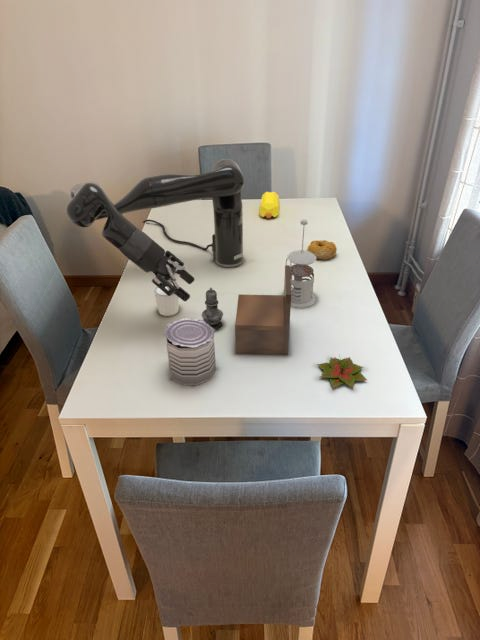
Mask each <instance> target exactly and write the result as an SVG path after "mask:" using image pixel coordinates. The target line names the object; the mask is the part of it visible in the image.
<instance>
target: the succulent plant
mask: <svg viewBox="0 0 480 640" xmlns="http://www.w3.org/2000/svg"><path fill="white" fill-rule="evenodd" d="M338 356H339V357H341V355H340V354H338ZM316 365H317V366H318V367H319V368H320V369H321V370H322V371H323V372H322V373H321V375H320V376H319V378H329V382H330V384H331V387H332V389H334V388H336V387H339V386H342V385H343V384H346V385H348V386H349V387H351V388H352V389H354V387H355V381H357V382H359V381H368V379H367V378H366V377H365V376H364V374H362V373H361V372H360V371H361V370H362V369H363V368H364V366H361V365H358V364H356V363H354V361H353V360H352V359H351V357H350V356H349V357H345V358H342V359H341V358H337V357H336V356H334V358H333V357H330V359H329V362H322V363H317V364H316Z"/></svg>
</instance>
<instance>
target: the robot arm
mask: <svg viewBox="0 0 480 640" xmlns="http://www.w3.org/2000/svg"><path fill="white" fill-rule="evenodd" d="M244 185H245V178H244V175H243V173H242V170H241V168H240V166H239V164H238V163H237V162H236V161H234V160H232V159H230V158H223V159H220V160H218V161H217V162H216V163H214V165H213V166H212V168H211V171H209V172H205V173H199V174H179V173H163V174H157V175H151V176H146V177H144V178H142V179H141V180H139V181H138V182H137V183H136V184H135V185H134V186H133V187H132V188H131V189H130V190H129V191H128V192H127V193H126V194H125V195H124V196H123V197H122V198H120V199H119V200H117V201H116V202H115V203H113V202H112V200H111V199H110V197H109V196H108V195H107V193H106V192H105V190H104V189H103V187H101V186H100V184H98V183H97V182H95V181H87V182H82V183H81V182H80V183H78V184H75V185H73V186H72V187H71V188H70V192H69V193H70V194H69V195H70V201H69V202H68V203H67V204H66V206H65V215H66V217H67V218H68V220H69V221H70V222H72V223H73V224H74V225H76V226H78V227H80V228H89V227H91V226H92V225H93V224H94V223H95V221H98V220H99V221H100V220H103V219H106V218H107V219H106V221H105V223H104V225H103V227H102V229H101V236H102V237H103V238H104V239H105V240H106V241H107V242H109V244H111V245H112V246H114V247H115V248H116V249H117V250H119V251H120V253H122V254H123V255H124V257H126V258H127V259H128V260H129V261H131V262H132V263H133V264H134V265H136V266H137V267H138V268H139V269H140V270H142V271H143V272H144V273H148V274H149V273H150V272H152V274H153V275H154V276H153V278H152V279H151V282H152V284H154V285H155V286H156V287H159V288H160V289H161V290H162V291H163V292H164V293H166V294H167V295H168V296H170V295H172V294H175V295H177V296H178V297H179V299H180V300H181V301H182V302H187V301H188V300H189V299H191V295H190V293H189V292H188V291H186V290H185V289H184V288H182V287H181V286H179V284H178V282H177V281H176V280H177V278H176V276H179V278H181V280H183V281H184V282H185V283H187V284H188V285H191V284H193V283H194V282H195V277H194V276H193V275H192V274H190V273H189V272H188V271H187V270H186V268H185V267H184V266H185V263H184V262H183V261H182V260H181V259H180V258H179V257H177V256H176V255H175V254H173V253H172V252H171V251H169V250H165V249H164V248H163V247H162V246H161V245H160V244H159V243H157V242H156V241H155V240H153V238H152V237H150V236H149V235H148V234H147V233H145V232H144V231H142V230H141V229H139V227H137V226H136V225H135V224H133V223H132V222H131V221H129V219H127V218H126V217H125V216H124V215H123V214H127V213H132V212H133V213H134V212H139V211H145V210H151V209H157V208H158V209H159V208H163V207H169V206H173V205H177V204H178V205H179V204H181V203H187V202H191V201H196V200H202V199H203V200H204V199H211V201H212V210H213V228H214V229H213V230H214V233H213V234H212V235H211V241H212V242H211V243H210V244H207V245H206V247H202V246H200V245H198V244H196V243H194V242H190V241H184V240H179V239H174V238H172V237H171V236H170V235H169V234H168V233H167V231H166V228H165V225H164V224H162V223H161V222H158V221H156V220H153V219H145V220H143V221H142V224H145V223H146V222H151V223H154V224H157V225H159V226H160V227H161V228H162V232H163V234H164V235H165V236H166V238H167V239H169V240H170V241H172V242H174V243H179V244H186V245H189V246H190V245H191V246H193V247H195V248H197V249H200V250H202V251H207V250H208V249H209V248H210V247H211V251H212V261H213V262H215V263H216V264H217V265H218V266H220V267H222V268H235V267H238V266H240V265H242V264H243V263H244V221H243V220H244V213H243V211H244V210H243V208H244V207H243V198H242V189H243V187H244ZM175 275H176V276H175ZM172 284H173V285H174V286H173V285H172ZM165 287H167V288H168V290H169V291H168V290H167V289H166V288H165Z"/></svg>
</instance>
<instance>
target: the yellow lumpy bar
mask: <svg viewBox="0 0 480 640" xmlns="http://www.w3.org/2000/svg"><path fill="white" fill-rule="evenodd" d="M258 214H259V215H260V217H262V218H264V217H265V218H267V219H270V218H272V217H273V218H274V219H275V218H276V217H277V216H278V215H279V214H280V197H279V194H277V192H275V191H265V192H264V193H263V194H262V195H261V200H260V206H259V212H258Z"/></svg>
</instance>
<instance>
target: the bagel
mask: <svg viewBox="0 0 480 640" xmlns="http://www.w3.org/2000/svg"><path fill="white" fill-rule="evenodd" d="M337 250H338V248H337V246H336V244H335V242H333V241H328V240H325V239H324V240H312V241H311V242H310V244H309V245H308V246H307V249H306V251H309V252H311V253H313V254H314V255H315V256H316V259H318V260H323V261H324V260H325V261H326V260H329V259H332V258H334V257H335V256H336V253H337Z"/></svg>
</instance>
